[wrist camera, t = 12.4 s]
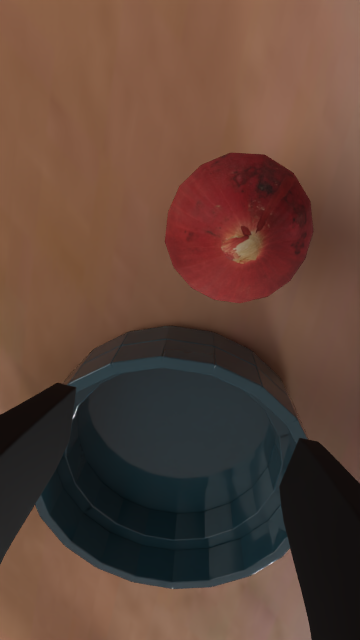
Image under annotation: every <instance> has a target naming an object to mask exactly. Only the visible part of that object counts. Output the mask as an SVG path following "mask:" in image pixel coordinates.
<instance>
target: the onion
mask: <svg viewBox="0 0 360 640" xmlns="http://www.w3.org/2000/svg"><path fill="white" fill-rule="evenodd" d="M312 234H313V222H312V212H311V203H310V200H309V198H308V196H307V195H306V193H305V191H304V190H303V188H302V186H301V185H300V183H299V181H298V180H297V178H296V176H295V175H294V173H293V172H291V171H290V170H288V169H286V168H285V167H283V166H282V165H280V164H279V163H277V162H275V161H274V160H272V159H271V158H269V157H268V156H266V155H262V154H245V153H229V154H226V155H224V156H222V157H219V158H217V159H214V160H212V161H210V162H207V163H205V164H202V165H201V166H200V167H199V168H198V169H197V170H196V171H195V172H194V173H192V174H191V175H190V176H189V177H188V178H187V179H186V180H185V181H184V182H183V183H182V184H181V185H180V186H179V189H178V191H177V193H176V195H175V198H174V200H173V202H172V205H171V207H170V209H169V211H168V218H167V227H166V237H165V243H166V246H167V249H168V252H169V255H170V258H171V261H172V264H173V266H174V268H175V269H176V270H177V272H178V273H179V274H180V275H181V276H182V277H183V279H184V280H185V281H186V282H187V283H188V284H189V285H190V287H191V288H193V289H195V290H197V291H199V292H201V293H203V294H204V295H206V296H208V297H210V298H212V299H214V300H221V301H228V302H235V303H243V302H247V301H251V300H255V299H259V298H263V297H268V296H269V295H270V294H272V293H273V292H275V291H276V290H278V289H279V288H280V287H282V286H283V285H285V284H286V283H288V282H289V281H290V280H291V279H292V277H293V276H294V274H295V273H296V271H297V270H298V268H299V267H300V266H301V264H302V263H303V261H304V260H305V258H306V254H307V250H308V247H309V244H310V241H311V237H312Z"/></svg>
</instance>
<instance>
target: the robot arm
mask: <svg viewBox="0 0 360 640" xmlns="http://www.w3.org/2000/svg"><path fill="white" fill-rule="evenodd" d="M75 394H76V387H73V386H69V385H65V384H60V383H56V384H55V385H53V386H51V387H49V388H47V389H46V390H44V391H42V392H40V393H39V394H37V395H35V396H34V397H32V398H30V399H28V400H27V401H25V402H23V403H21V404H20V405H18V406H16V407H14V408H12V409H10V410H9V411H7V412H5V413H3V414H1V415H0V564H1V562H2V560H3V558H4V556H5V554H6V552H7V550H8V549H9V547H10V545H11V543H12V541H13V540H14V538H15V536H16V535H17V533H18V531H19V530H20V528H21V526H22V525H23V523H24V521H25V520H26V518H27V517H28V515H29V513H30V512H31V510H32V508H33V507H34V505H35V503H36V502H37V500H38V498H39V497H40V495H41V494H42V492H43V490H44V489H45V487H46V485H47V484H48V482H49V480H50V479H51V477H52V475H53V474H54V472H55V470H56V468H57V466H58V464H59V462H60V460H61V458H62V456H63V453H64V451H65V449H66V447H67V444H68V442H69V440H70V433H71V425H72V417H73V410H74V402H75ZM279 490H280V499H281V507H282V514H283V521H284V525H285V529H286V533H287V537H288V541H289V545H290V549H291V553H292V557H293V560H294V564H295V568H296V572H297V576H298V580H299V583H300V587H301V591H302V595H303V599H304V603H305V607H306V612H307V616H308V621H309V626H310V632H311V638H312V640H360V483H359V482H358V481H357V480H356V479H355V478H354V477H353V476H352V475H351V474H350V473H349V472H348V471H347V470H346V469H345V468H344V467H343V466H342V465H341V464H340V463H339V462H338V461H337V460H336V459H335V457H334V456H333V455H332V454H331V453H330V452H329V451H328V450H327V449H326V448H324V447H323V446H322V445H321V444H320V443H319V442H317V441H312V440H308V439H303V438H299V440H298V442H297V445H296V447H295V450H294V452H293V454H292V457H291V459H290V462H289V464H288V466H287V469H286V471H285V474H284V476H283V478H282V481H281V483H280V486H279Z"/></svg>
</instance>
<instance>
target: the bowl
mask: <svg viewBox="0 0 360 640" xmlns="http://www.w3.org/2000/svg"><path fill="white" fill-rule="evenodd" d="M62 384H65V385H69V386H73V387H76V394H75V402H74V410H73V417H72V425H71V433H70V440H69V442H68V444H67V447H66V449H65V451H64V453H63V456H62V458H61V460H60V462H59V464H58V466H57V468H56V470H55V472H54V474H53V475H52V477H51V479H50V480H49V482H48V484H47V485H46V487H45V489H44V490H43V492H42V494H41V495H40V497H39V498H38V500H37V502H36V503H35V506H36V508H37V511H38V513H39V515H40V517H41V519H42V520H43V521H44V522H45V523H46V524H47V526H48V527H49V528H50V529H51V530H52V532H53V533H54V534H55V535H56V536H57V537H58V539H59V540H60V541H61V542H62V543H63V545H65V546H66V547H67V548H69V549H70V550H71V551H73V552H74V553H76V554H77V555H79V556H80V557H82V558H83V559H84V560H86V561H87V562H89V563H90V564H92V565H93V566H94V567H97V568H98V569H101V570H103V571H106V572H108V573H111V574H113V575H116V576H118V577H121V578H124V579H126V580H129V581H131V582H134V583H140V584H146V585H152V586H158V587H164V588H170V589H184V588H205V587H212V586H213V587H214V586H217V585H221V584H224V583H228V582H231V581H235V580H238V579H242V578H245V577H249V576H251V575H253V574H255V573H256V572H258V571H260V570H261V569H263V568H265V567H266V566H268V565H270V564H271V563H273V562H275V561H276V560H278V559H280V558H281V557H282V556H284V554H285V553H286V552H287V551H288V550H289V549H290V545H289V541H288V537H287V533H286V529H285V525H284V521H283V514H282V507H281V499H280V490H279V486H280V483H281V481H282V478H283V476H284V474H285V471H286V469H287V466H288V464H289V462H290V459H291V457H292V454H293V452H294V450H295V447H296V445H297V442H298V440H299V438H303V439H308V440H309V438H308V436H307V434H306V431H305V429H304V427H303V425H302V422H301V420H300V418H299V415H298V413H297V411H296V409H295V407H294V404H293V402H292V400H291V398H290V396H289V394H288V392H287V390H286V388H285V386H284V384H283V382H282V380H281V379H280V377H279V376H278V375H277V374H276V373H275V372H274V371H273V370H272V369H271V368H269V367H268V366H267V365H266V364H265V363H264V362H263V361H262V360H261V359H260V358H259V357H258V356H257V355H256V354H255V353H254V352H253V351H251V350H250V349H248V348H246V347H244V346H242V345H240V344H237V343H235V342H233V341H231V340H229V339H227V338H225V337H223V336H221V335H219V334H217V333H214V332H210V331H204V330H197V329H191V328H184V327H177V326H164V327H157V328H150V329H143V330H137V331H130V332H127V333H125V334H123V335H121V336H119V337H117V338H115V339H113V340H111V341H109V342H107V343H105V344H103V345H101V346H99V347H97V348H95V349H93V350H92V351H91V352H90V353H89V354H88V356H87V357H86V358H85V359H84V360H83V361H82V362H81V363H80V364H79V365H78V366H77V367H76V368H75V369H74V370H73V371H72V372H71V373H70V374H69V376H68V377H67V378H66V379H65V381H64V382H63V383H62Z"/></svg>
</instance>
